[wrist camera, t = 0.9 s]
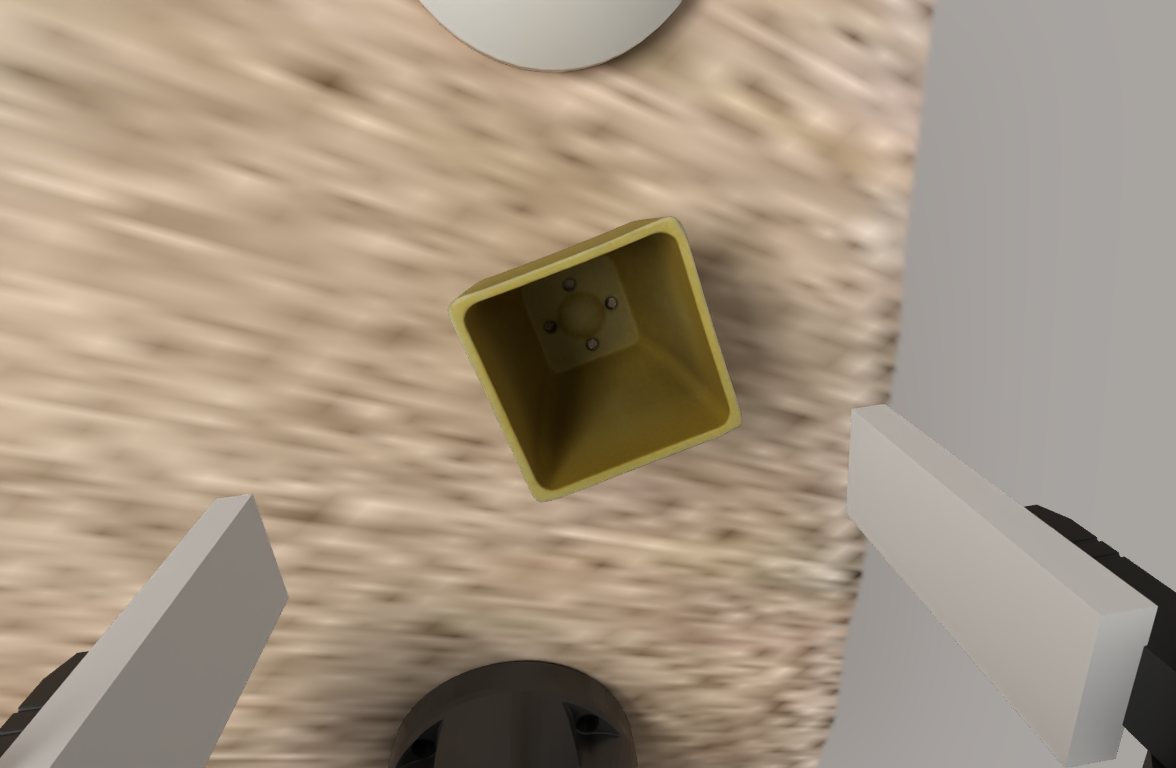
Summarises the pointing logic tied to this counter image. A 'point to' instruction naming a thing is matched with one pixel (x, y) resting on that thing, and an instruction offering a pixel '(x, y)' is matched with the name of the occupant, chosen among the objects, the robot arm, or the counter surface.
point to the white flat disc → (551, 29)
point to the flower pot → (599, 357)
